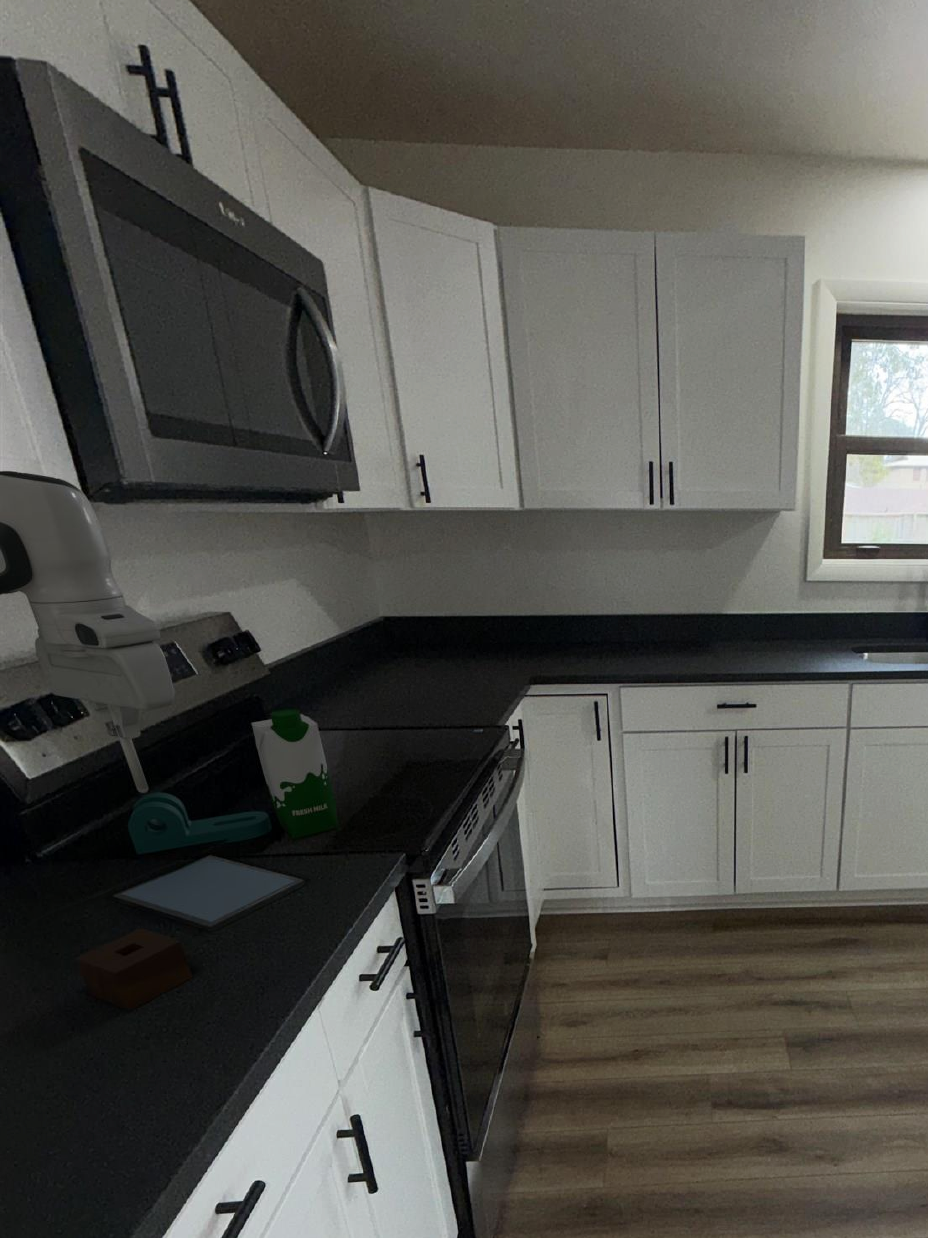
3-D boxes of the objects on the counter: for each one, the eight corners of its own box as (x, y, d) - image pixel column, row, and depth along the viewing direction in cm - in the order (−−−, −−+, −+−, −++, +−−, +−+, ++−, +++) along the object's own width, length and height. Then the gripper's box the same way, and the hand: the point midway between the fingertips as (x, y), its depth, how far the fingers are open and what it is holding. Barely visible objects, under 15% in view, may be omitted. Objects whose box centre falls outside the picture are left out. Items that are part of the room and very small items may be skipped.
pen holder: (90, 995, 86) (74, 958, 84) (154, 963, 92) (141, 927, 90) (130, 1011, 84) (114, 973, 82) (193, 977, 90) (180, 940, 87)
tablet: (114, 901, 106) (112, 895, 105) (212, 860, 117) (210, 854, 117) (211, 932, 99) (209, 925, 98) (305, 885, 110) (304, 879, 110)
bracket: (138, 858, 118) (121, 811, 115) (143, 842, 123) (127, 796, 120) (272, 835, 126) (259, 789, 122) (271, 820, 131) (259, 777, 128)
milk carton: (289, 843, 123) (257, 720, 115) (273, 826, 129) (241, 709, 121) (346, 828, 128) (319, 710, 120) (328, 812, 134) (301, 699, 126)
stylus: (136, 793, 100) (103, 701, 95) (146, 790, 101) (114, 698, 96) (142, 794, 100) (109, 702, 95) (151, 791, 101) (119, 699, 96)
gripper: (5, 621, 93) (48, 733, 99) (109, 634, 85) (149, 753, 91) (64, 614, 98) (101, 720, 104) (167, 625, 90) (201, 739, 96)
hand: (124, 736), depth 97 cm, fingers closed on stylus, 1 cm apart
